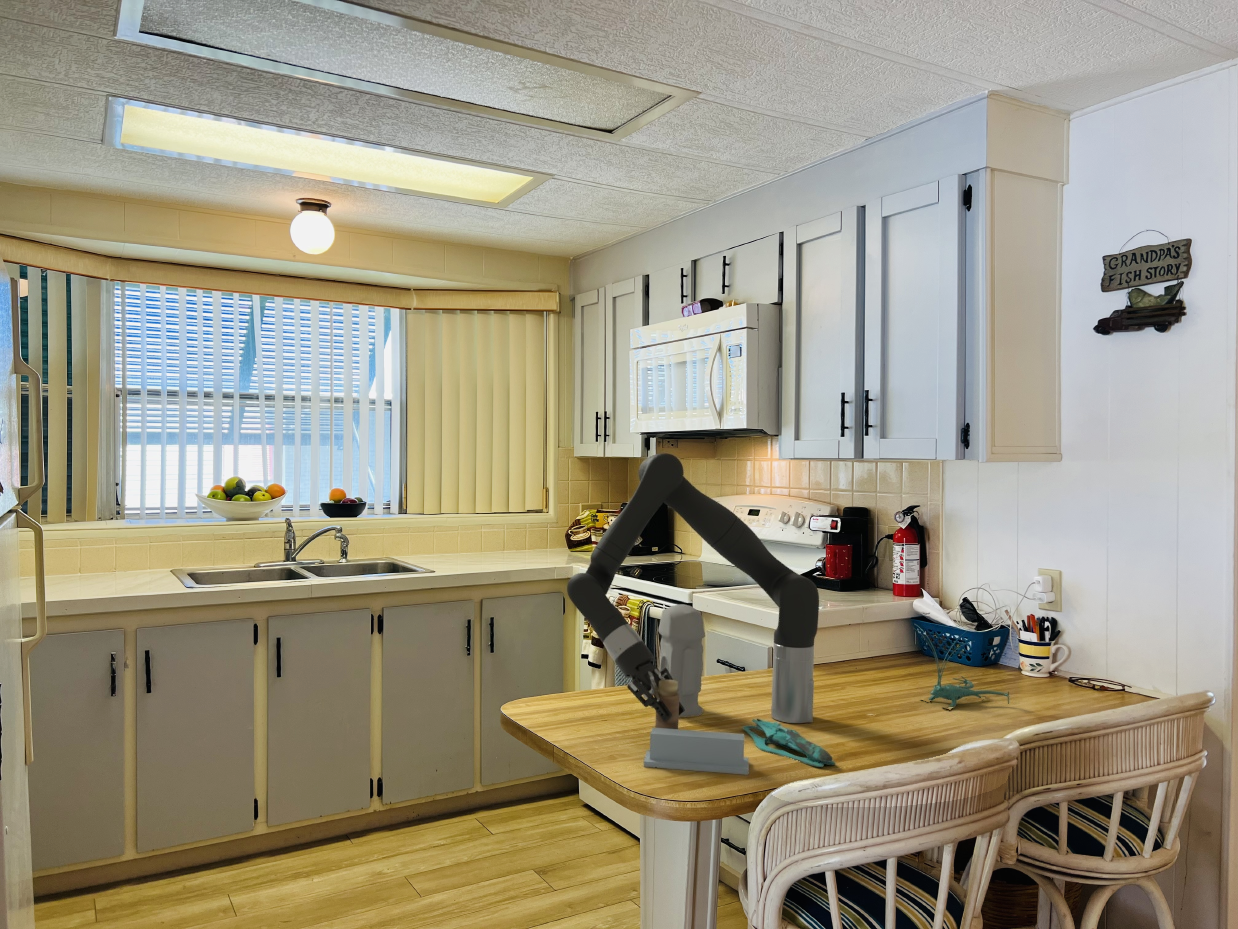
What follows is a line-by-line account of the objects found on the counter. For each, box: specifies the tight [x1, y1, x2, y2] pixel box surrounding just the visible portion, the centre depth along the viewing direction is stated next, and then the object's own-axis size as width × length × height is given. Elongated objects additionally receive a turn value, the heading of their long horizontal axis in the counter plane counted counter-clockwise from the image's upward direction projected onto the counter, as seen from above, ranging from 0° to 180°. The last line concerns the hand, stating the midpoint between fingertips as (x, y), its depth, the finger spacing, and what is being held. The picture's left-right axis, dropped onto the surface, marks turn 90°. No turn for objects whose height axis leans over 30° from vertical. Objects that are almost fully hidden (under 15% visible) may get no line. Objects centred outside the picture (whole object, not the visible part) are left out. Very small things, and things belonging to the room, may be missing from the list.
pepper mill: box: [654, 680, 680, 729], centre depth 191 cm, size 5×5×12 cm
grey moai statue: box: [658, 604, 706, 718], centre depth 214 cm, size 15×10×25 cm
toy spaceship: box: [742, 718, 836, 768], centre depth 189 cm, size 11×27×5 cm, turn 29°
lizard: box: [914, 623, 1010, 708], centre depth 227 cm, size 23×25×21 cm
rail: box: [643, 727, 750, 776], centre depth 177 cm, size 20×7×6 cm, turn 82°
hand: (675, 716), depth 190 cm, fingers closed on pepper mill, 4 cm apart
